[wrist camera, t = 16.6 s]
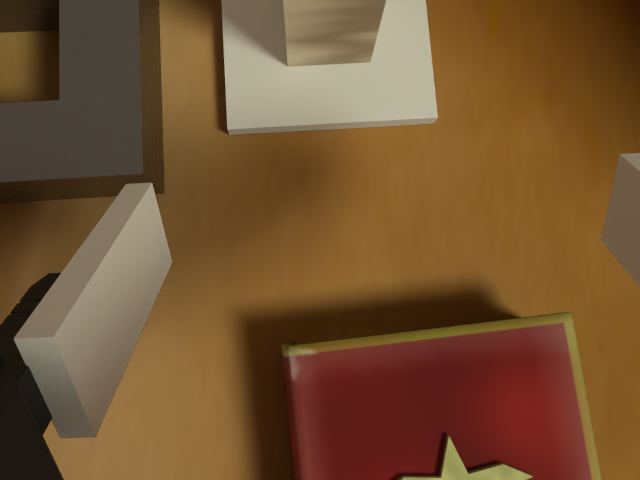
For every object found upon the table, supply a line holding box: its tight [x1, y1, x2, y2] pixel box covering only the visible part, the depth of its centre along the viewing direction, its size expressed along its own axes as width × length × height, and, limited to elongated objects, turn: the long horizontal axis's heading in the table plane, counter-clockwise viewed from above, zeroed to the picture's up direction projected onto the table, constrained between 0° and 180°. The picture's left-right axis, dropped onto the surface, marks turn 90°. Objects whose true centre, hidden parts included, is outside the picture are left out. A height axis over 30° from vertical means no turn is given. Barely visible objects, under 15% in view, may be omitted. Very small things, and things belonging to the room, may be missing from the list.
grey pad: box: [221, 0, 438, 135], centre depth 27 cm, size 10×10×1 cm
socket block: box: [0, 0, 164, 203], centre depth 25 cm, size 12×12×4 cm
